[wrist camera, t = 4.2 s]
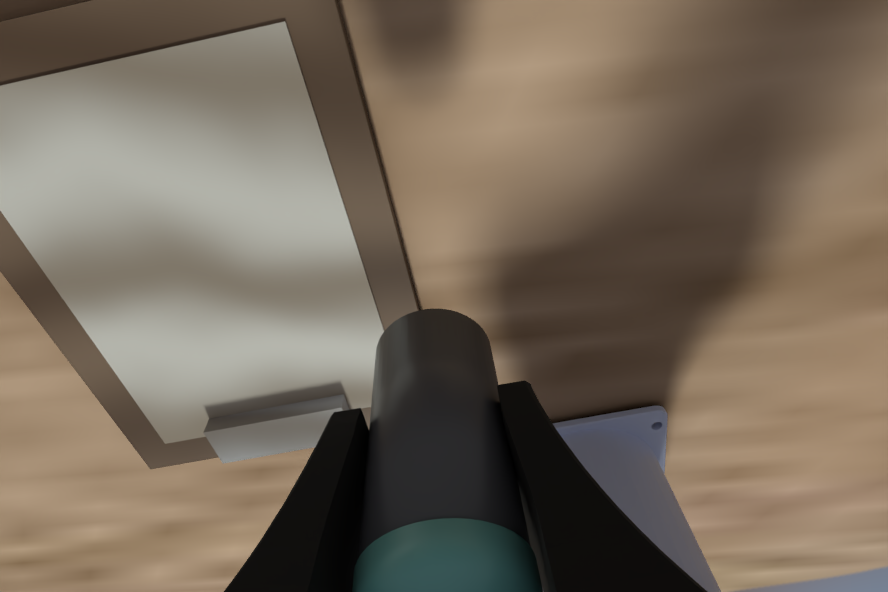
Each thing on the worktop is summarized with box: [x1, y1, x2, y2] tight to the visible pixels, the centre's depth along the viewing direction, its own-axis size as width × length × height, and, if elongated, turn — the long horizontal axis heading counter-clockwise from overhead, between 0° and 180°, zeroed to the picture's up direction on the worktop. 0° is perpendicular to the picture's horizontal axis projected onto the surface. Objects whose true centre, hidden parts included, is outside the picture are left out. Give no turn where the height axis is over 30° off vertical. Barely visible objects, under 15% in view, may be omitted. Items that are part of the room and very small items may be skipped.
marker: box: [352, 309, 543, 592], centre depth 11 cm, size 3×3×7 cm
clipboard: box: [0, 0, 420, 469], centre depth 19 cm, size 18×14×2 cm
